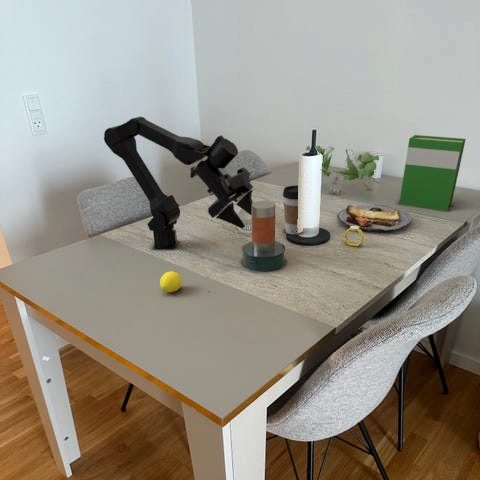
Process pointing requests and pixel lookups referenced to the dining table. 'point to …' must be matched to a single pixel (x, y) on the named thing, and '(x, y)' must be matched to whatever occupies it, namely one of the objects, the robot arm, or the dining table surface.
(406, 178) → the hardback book
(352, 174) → the plant cuttings
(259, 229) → the can
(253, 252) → the pot
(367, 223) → the food plate
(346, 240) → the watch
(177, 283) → the lemon
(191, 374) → the dining table surface
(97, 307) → the dining table surface
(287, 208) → the coffee cup
